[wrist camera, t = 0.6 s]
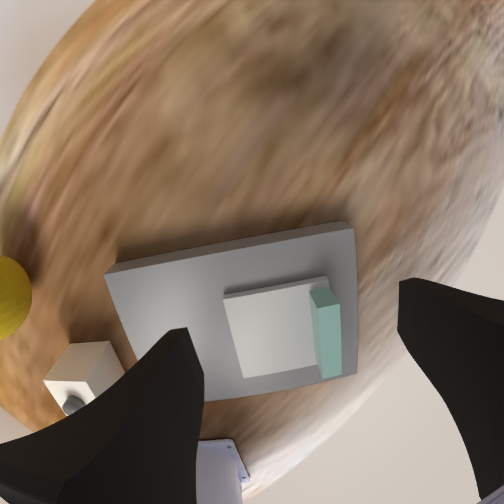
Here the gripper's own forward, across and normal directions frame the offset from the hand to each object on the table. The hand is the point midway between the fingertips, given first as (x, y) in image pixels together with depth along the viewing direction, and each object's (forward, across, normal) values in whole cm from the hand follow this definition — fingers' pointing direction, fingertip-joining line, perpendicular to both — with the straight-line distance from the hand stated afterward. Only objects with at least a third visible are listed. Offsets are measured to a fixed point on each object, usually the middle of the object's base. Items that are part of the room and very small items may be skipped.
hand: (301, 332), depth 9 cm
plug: (+10, +15, +7) cm, 19 cm away
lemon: (+10, +19, -2) cm, 22 cm away
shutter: (+8, 0, +5) cm, 9 cm away
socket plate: (+10, +3, +5) cm, 11 cm away
